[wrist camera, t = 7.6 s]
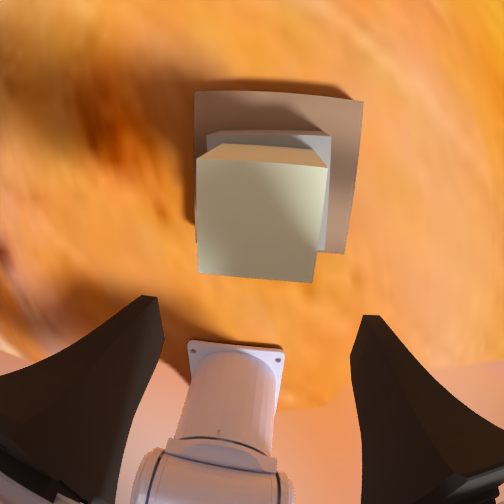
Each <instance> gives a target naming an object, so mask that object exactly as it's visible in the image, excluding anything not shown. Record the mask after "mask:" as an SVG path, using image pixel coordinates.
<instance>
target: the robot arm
mask: <svg viewBox="0 0 504 504" xmlns="http://www.w3.org/2000/svg"><path fill="white" fill-rule="evenodd" d="M164 340H165V338H164V333H163V328H162V322H161V317H160V311H159V305H158V299H157V297H152V296H145V295H141V296H140V297H138V298H137V299H136V300H134V301H133V302H131V303H130V304H129V305H127V306H126V307H125V308H123V309H122V310H121V311H120V312H118V313H117V314H116V315H114V316H113V317H111V318H110V319H109V320H107V321H106V322H105V323H103V324H102V325H101V326H99V327H98V328H96V329H95V330H93V331H92V332H90V333H89V334H88V335H86V336H85V337H83V338H82V339H80V340H79V341H77V342H75V343H74V344H72V345H70V346H69V347H67V348H65V349H63V350H62V351H60V352H58V353H56V354H54V355H52V356H50V357H48V358H46V359H44V360H42V361H39V362H37V363H35V364H33V365H31V366H28V367H25V368H23V369H20V370H17V371H14V372H11V373H8V374H5V375H1V376H0V504H80V502H81V503H83V504H115V498H116V490H117V483H118V478H119V472H120V467H121V462H122V458H123V454H124V449H125V446H126V442H127V438H128V434H129V431H130V428H131V424H132V421H133V418H134V415H135V413H136V410H137V408H138V405H139V403H140V401H141V398H142V396H143V394H144V392H145V390H146V387H147V385H148V383H149V381H150V379H151V376H152V374H153V372H154V370H155V367H156V365H157V363H158V360H159V357H160V353H161V350H162V347H163V343H164ZM187 348H188V356H189V363H190V370H191V377H192V381H191V384H190V387H189V391H188V394H187V397H186V400H185V404H184V407H183V410H182V414H181V417H180V420H179V423H178V426H177V430H176V433H175V436H174V439H173V438H169V439H168V442H167V446H166V449H162V448H155V449H154V450H153V451H151V452H148V453H147V454H146V455H145V456H144V458H143V459H142V461H141V464H140V466H139V468H138V471H137V473H136V476H135V480H134V484H133V488H132V493H131V500H130V504H294V487H293V484H292V482H291V480H290V479H289V478H288V476H287V474H286V473H285V472H282V471H276V468H277V459H276V458H272V457H271V451H272V438H273V423H274V415H275V413H276V407H277V401H278V395H279V389H280V383H281V377H282V371H283V365H284V358H285V352H284V350H282V349H274V348H262V347H251V346H240V345H231V344H222V343H213V342H205V341H197V340H190V341H189V342H188V344H187ZM193 349H194V350H193ZM276 358H280V359H276ZM350 365H351V380H352V386H353V392H354V397H355V402H356V408H357V413H358V420H359V426H360V431H361V440H362V493H361V504H496V501H495V498H497V497H498V496H499V489H498V486H500V485H501V484H502V483H504V430H503V429H501V428H499V427H497V426H495V425H494V424H492V423H490V422H489V421H487V420H486V419H484V418H482V417H481V416H479V415H478V414H476V413H475V412H474V411H472V410H471V409H469V408H468V407H467V406H466V405H464V404H463V403H462V402H460V401H459V400H458V399H457V398H455V397H454V396H453V395H452V394H451V393H449V392H448V391H447V390H446V389H445V388H444V387H443V386H442V385H441V384H439V383H438V382H437V381H436V380H435V379H434V378H433V377H432V376H431V375H430V374H429V372H428V371H427V370H426V369H425V368H424V367H423V366H422V365H421V364H420V363H419V362H418V361H417V360H416V358H415V357H414V356H413V355H412V354H411V353H410V351H409V350H408V349H407V348H406V347H405V346H404V344H403V343H402V342H401V341H400V340H399V338H398V337H397V336H396V335H395V333H394V332H393V331H392V330H391V329H390V327H389V326H388V325H387V324H386V322H385V321H384V320H383V319H382V318H381V317H380V316H379V315H363V317H362V321H361V324H360V327H359V330H358V334H357V337H356V340H355V343H354V346H353V349H352V352H351V355H350ZM498 504H504V501H502V502H500V503H498Z"/></svg>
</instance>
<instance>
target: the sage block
mask: <svg viewBox="0 0 504 504" xmlns="http://www.w3.org/2000/svg"><path fill="white" fill-rule="evenodd" d="M327 172H328V167H327V166H326V165H325V163H324V162H323V161H322V160H321V158H320V157H319V156H318V155H317V153H316V152H315V151H314V150H311V149H302V148H291V147H279V146H265V145H249V144H227V143H222V144H221V145H219V146H217V147H215V148H214V149H212V150H210V151H209V152H207V153H205V154H204V155H202V156H200V157H199V158H197V159H196V212H197V257H198V273H203V274H213V275H224V276H234V277H245V278H257V279H268V280H280V281H292V282H305V283H312V281H313V274H314V268H315V262H316V255H317V249H318V242H319V235H320V228H321V221H322V213H323V206H324V198H325V190H326V181H327Z"/></svg>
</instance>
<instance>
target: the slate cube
mask: <svg viewBox="0 0 504 504" xmlns="http://www.w3.org/2000/svg"><path fill="white" fill-rule="evenodd" d="M206 137H207V152H209V151H210V150H212V149H214V148H215V147H217V146H219V145H221V144H222V143H227V144H249V145H265V146H279V147H291V148H302V149H311V150H314V151H315V152H316V153H317V155H318V156H319V157H320V158H321V160H322V161H323V162H324V163H325V165H326V166H327V167H328V172H327V181H326V190H325V198H324V206H323V213H322V221H321V228H320V235H319V242H318V249H317V250H325V239H326V227H327V214H328V199H329V182H330V161H331V136H330V135H328V134H327V133H325V132H324V131H306V130H220V131H217V132H214V133H212V134H209V135H207V136H206Z"/></svg>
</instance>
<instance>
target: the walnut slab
mask: <svg viewBox="0 0 504 504" xmlns="http://www.w3.org/2000/svg"><path fill="white" fill-rule="evenodd" d="M362 115H363V102H362V101H355V100H349V99H342V98H334V97H326V96H317V95H307V94H296V93H282V92H265V91H194V205H195V236H196V243H197V212H196V159H197V158H199V157H200V156H202V155H204V154H205V153H207V137H206V136H207V135H209V134H212V133H214V132H217V131H220V130H306V131H324V132H325V133H327V134H328V135H330V136H331V161H330V182H329V199H328V214H327V227H326V239H325V250H317V252H322V253H335V254H344V251H345V246H346V240H347V234H348V228H349V222H350V216H351V209H352V202H353V196H354V188H355V181H356V173H357V165H358V156H359V147H360V137H361V127H362Z"/></svg>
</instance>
